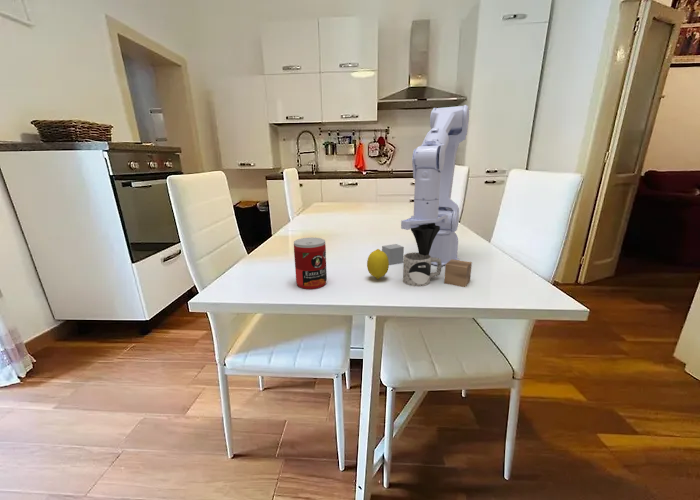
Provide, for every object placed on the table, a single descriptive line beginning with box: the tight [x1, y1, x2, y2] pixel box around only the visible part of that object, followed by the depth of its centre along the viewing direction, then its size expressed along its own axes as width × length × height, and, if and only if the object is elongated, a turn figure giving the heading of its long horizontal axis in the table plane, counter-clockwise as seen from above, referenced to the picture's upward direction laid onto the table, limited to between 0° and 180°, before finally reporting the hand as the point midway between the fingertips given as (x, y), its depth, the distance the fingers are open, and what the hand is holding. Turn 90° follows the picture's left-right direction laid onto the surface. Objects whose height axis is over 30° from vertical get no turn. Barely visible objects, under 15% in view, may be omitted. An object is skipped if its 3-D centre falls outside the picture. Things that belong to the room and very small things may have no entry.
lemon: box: [366, 248, 390, 280], centre depth 80 cm, size 6×6×8 cm
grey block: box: [381, 243, 405, 266], centre depth 94 cm, size 5×4×5 cm
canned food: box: [293, 237, 328, 290], centre depth 77 cm, size 8×8×11 cm
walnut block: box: [444, 259, 473, 288], centre depth 78 cm, size 5×5×5 cm
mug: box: [402, 252, 442, 287], centre depth 79 cm, size 10×7×7 cm, turn 103°
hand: (423, 254), depth 78 cm, fingers closed
